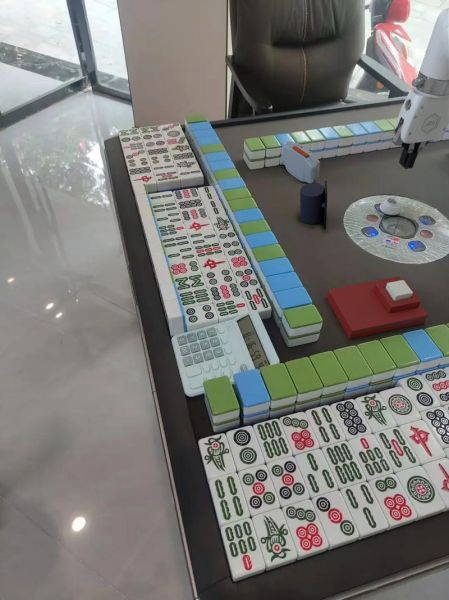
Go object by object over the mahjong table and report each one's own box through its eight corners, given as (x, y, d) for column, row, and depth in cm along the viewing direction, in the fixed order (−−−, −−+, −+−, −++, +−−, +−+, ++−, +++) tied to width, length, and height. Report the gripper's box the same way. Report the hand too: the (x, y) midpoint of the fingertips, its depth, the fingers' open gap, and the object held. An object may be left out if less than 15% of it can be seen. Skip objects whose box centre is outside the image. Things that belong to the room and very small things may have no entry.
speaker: (333, 216, 108) (336, 180, 100) (325, 229, 105) (329, 193, 97) (304, 210, 111) (305, 174, 103) (296, 223, 108) (297, 187, 100)
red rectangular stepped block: (395, 285, 92) (401, 270, 89) (423, 323, 85) (431, 309, 82) (326, 298, 90) (330, 283, 86) (349, 339, 83) (354, 324, 79)
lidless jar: (400, 216, 109) (397, 205, 112) (404, 207, 106) (401, 195, 110) (380, 215, 109) (377, 203, 112) (384, 205, 107) (381, 194, 110)
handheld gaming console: (318, 186, 117) (323, 159, 112) (310, 189, 116) (315, 162, 110) (286, 162, 126) (289, 136, 120) (278, 165, 125) (280, 139, 119)
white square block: (400, 285, 87) (403, 279, 85) (410, 298, 84) (413, 292, 83) (384, 288, 86) (387, 282, 85) (393, 301, 84) (396, 295, 82)
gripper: (413, 94, 82) (384, 178, 95) (480, 87, 85) (443, 170, 98) (392, 78, 86) (368, 161, 100) (456, 72, 89) (424, 153, 103)
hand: (405, 165), depth 99 cm, fingers closed
